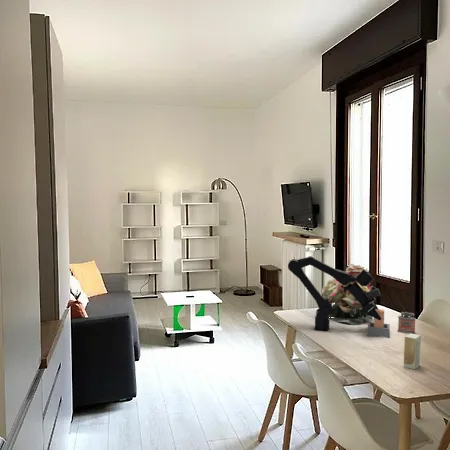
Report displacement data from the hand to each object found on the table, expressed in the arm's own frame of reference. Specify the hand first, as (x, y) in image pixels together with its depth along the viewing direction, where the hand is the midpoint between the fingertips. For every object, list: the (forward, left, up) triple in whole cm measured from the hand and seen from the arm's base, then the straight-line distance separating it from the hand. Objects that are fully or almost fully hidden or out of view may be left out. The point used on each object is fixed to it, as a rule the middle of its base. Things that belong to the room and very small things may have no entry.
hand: (381, 317), depth 239 cm
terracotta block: (-1, 0, -7) cm, 8 cm away
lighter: (+12, +8, -8) cm, 17 cm away
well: (-1, 0, -8) cm, 8 cm away
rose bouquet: (-16, +25, -8) cm, 31 cm away
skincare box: (+12, -45, -8) cm, 47 cm away
